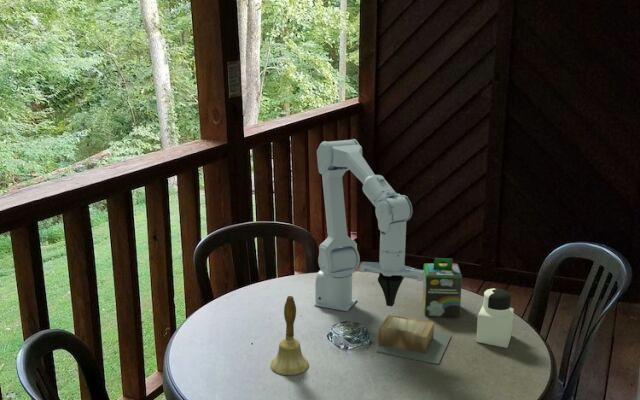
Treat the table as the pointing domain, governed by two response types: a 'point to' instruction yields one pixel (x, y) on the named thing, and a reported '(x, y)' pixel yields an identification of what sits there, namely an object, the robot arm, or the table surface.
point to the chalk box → (442, 288)
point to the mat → (431, 355)
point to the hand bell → (289, 346)
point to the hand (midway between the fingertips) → (390, 304)
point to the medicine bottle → (495, 318)
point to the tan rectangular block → (406, 333)
